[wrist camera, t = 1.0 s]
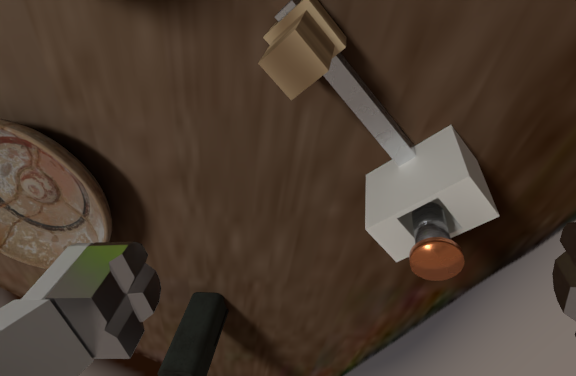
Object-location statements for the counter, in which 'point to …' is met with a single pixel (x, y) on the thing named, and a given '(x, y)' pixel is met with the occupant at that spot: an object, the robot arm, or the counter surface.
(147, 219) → the counter surface
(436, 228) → the plunger
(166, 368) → the candle
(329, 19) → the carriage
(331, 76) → the rail
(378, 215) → the housing
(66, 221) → the ceramic bowl
